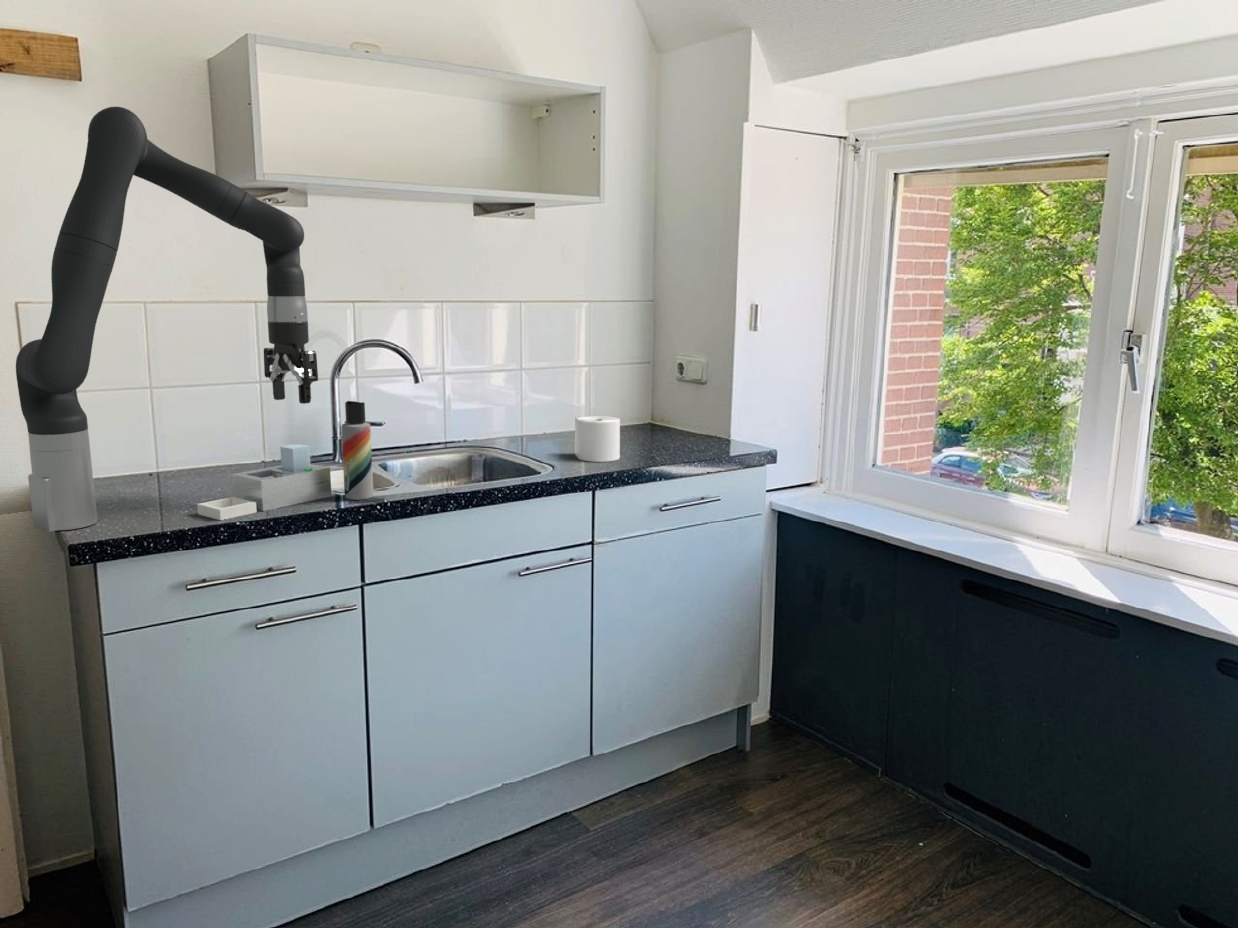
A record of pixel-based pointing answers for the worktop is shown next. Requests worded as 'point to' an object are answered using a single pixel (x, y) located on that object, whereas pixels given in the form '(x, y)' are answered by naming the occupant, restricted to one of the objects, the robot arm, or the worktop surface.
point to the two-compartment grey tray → (281, 486)
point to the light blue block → (295, 457)
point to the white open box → (226, 508)
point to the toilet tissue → (597, 438)
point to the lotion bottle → (357, 453)
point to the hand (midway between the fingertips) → (292, 401)
